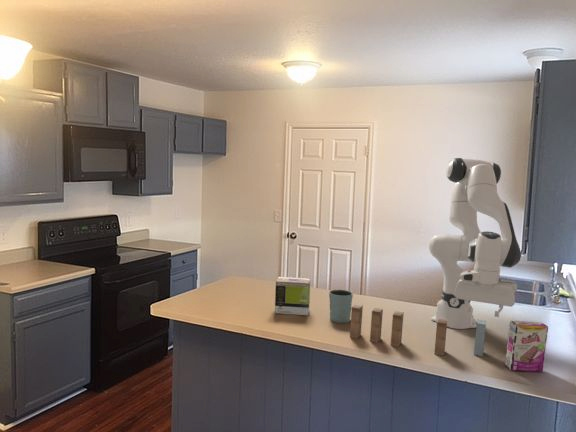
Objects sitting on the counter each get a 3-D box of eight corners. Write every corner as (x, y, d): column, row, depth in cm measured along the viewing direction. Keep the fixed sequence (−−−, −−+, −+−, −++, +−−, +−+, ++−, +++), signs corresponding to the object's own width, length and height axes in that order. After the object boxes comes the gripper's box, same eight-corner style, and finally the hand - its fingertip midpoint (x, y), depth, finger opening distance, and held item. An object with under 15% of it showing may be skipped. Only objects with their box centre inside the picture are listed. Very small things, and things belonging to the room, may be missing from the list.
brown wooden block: (436, 349, 183) (438, 318, 181) (444, 351, 181) (447, 319, 180) (434, 354, 178) (437, 322, 177) (442, 355, 177) (445, 323, 175)
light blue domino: (474, 350, 184) (477, 319, 182) (483, 352, 182) (486, 320, 181) (473, 354, 179) (476, 323, 178) (482, 356, 178) (485, 324, 176)
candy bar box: (511, 371, 166) (516, 324, 164) (504, 365, 171) (509, 320, 169) (543, 372, 166) (549, 326, 164) (535, 366, 171) (540, 321, 169)
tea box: (309, 309, 224) (311, 277, 223) (308, 316, 214) (309, 283, 213) (276, 307, 226) (278, 275, 224) (274, 313, 216) (275, 280, 214)
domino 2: (373, 337, 192) (375, 307, 191) (380, 338, 191) (382, 308, 190) (369, 341, 188) (372, 310, 186) (377, 342, 187) (379, 312, 185)
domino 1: (353, 333, 196) (355, 304, 194) (360, 334, 194) (362, 305, 193) (349, 337, 191) (351, 307, 190) (357, 338, 190) (359, 308, 188)
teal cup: (350, 324, 206) (351, 296, 205) (326, 321, 208) (327, 294, 207) (351, 317, 216) (353, 290, 215) (329, 314, 218) (330, 288, 217)
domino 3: (393, 341, 189) (395, 310, 188) (401, 342, 188) (403, 312, 186) (390, 345, 184) (392, 314, 183) (398, 346, 183) (400, 315, 182)
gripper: (517, 279, 176) (513, 317, 177) (457, 271, 184) (454, 307, 185) (517, 282, 170) (514, 321, 171) (456, 274, 179) (452, 311, 180)
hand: (482, 314), depth 179 cm, fingers open, 8 cm apart
